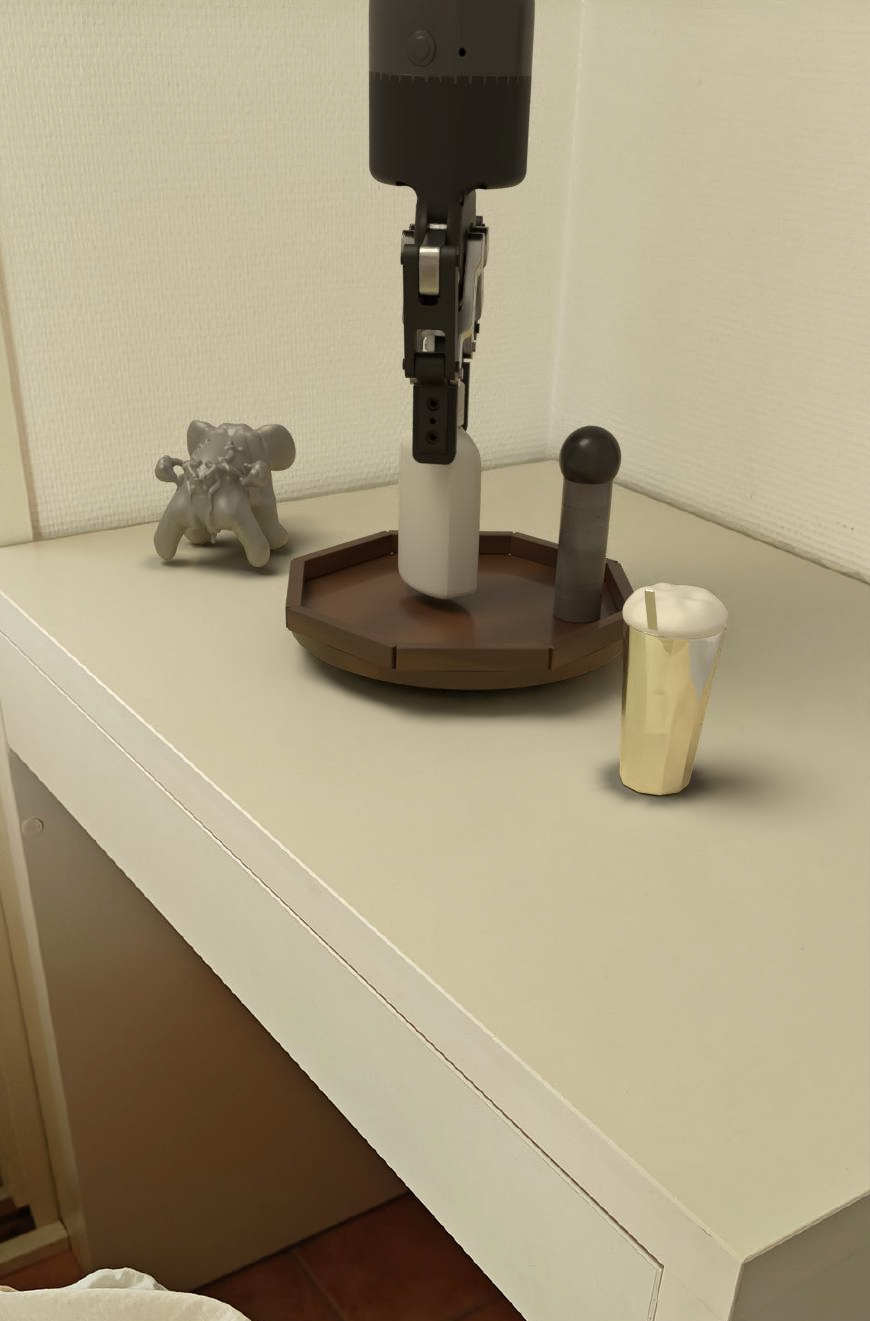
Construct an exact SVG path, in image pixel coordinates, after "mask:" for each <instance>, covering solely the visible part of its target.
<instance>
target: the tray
mask: <svg viewBox="0 0 870 1321" xmlns="http://www.w3.org/2000/svg"><path fill="white" fill-rule="evenodd" d="M621 464H622V450H621V446H620V444H619V442H618V440H617V438H616V437H615V435H614V434H613V433H612V432H611V431H609V430H608V429H606V428H605V427H602V426H598V425H585V426H581V427H579V428H577V429H575V430H573V431H572V432H570V433H569V435H568V436H567V437H566V438H565V439H564V441H563V443H562V444H561V447H560V450H559V455H558V466H559V470H560V472H561V475H562V477H563V478H562V489H561V490H562V491H561V505H560V515H559V516H560V517H559V529H558V542H553V541H549V540H546V539H544V538H540V537H536V536H532V535H529V534H525V533H523V532H519V531H515V532H513V531H511V530H479V555H478V580H477V590H476V592H475V593H474V594H472V595H468V596H463V597H458V598H452V599H438V598H435V597H431V596H428V595H425V594H423V593H420V592H418V591H416V590H414V589H413V588H411V587H410V586H408V585H407V584H406V583H405V582H404V581H403V579H402V578H401V576H400V574H399V569H398V529H390V530H382V531H379V532H375V533H373V534H369V535H365V536H363V537H359V538H355V539H352V540H349V541H346V542H342V543H339V544H337V545H333V546H329V547H326V548H322V549H320V550H316V551H313V552H311V553H310V552H309V553H306V554H303V555H300V556H297V557H293V558H292V559H291V560H290V564H289V573H288V582H287V588H286V598H285V607H284V608H285V610H284V612H285V613H284V614H285V628H286V629H287V630H288V631H290V632H291V633H292V636H293V638H294V639H295V640H296V642H297V643H298V644H299V645H300V646H301V647H302V648H303V649H305V650H306V651H307V652H308V653H309V654H311V655H313V656H314V657H315V658H318V659H319V660H321V661H323V662H325V663H327V664H330V665H332V666H333V667H336V668H338V669H341V670H344V671H346V672H349V673H353V674H356V675H359V676H363V677H366V678H370V679H374V680H378V681H382V682H387V683H390V682H392V683H391V684H393V683H397V684H404V685H411V686H418V687H427V688H439V689H458V690H489V689H506V688H519V687H524V688H528V687H533V686H540V685H545V684H551V683H555V682H560V681H564V680H568V679H571V678H575V677H578V676H581V675H584V674H586V673H590V672H591V671H594V670H596V669H598V668H600V667H602V666H604V665H605V664H607V663H609V662H611V661H612V660H613V659H614V658H617V657H618V655H619V654H621V652H623V606H624V604H625V602H626V601H627V599H628V598H629V597H630V596H631V595H632V594H633V593H634V592H635V590H634V588H633V586H632V585H631V583H630V580H629V578H628V577H627V574H626V572H625V570H624V568H623V566H622V564H621V563H620V562H619V561H618V560H615V559H612V558H608V557H607V550H608V540H609V530H610V520H611V511H612V499H613V489H614V480H615V479H616V477H617V475H618V474H619V471H620V469H621ZM397 684H396V685H397ZM519 689H520V688H519Z"/></svg>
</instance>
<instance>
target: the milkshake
mask: <svg viewBox="0 0 870 1321" xmlns="http://www.w3.org/2000/svg"><path fill="white" fill-rule="evenodd" d="M728 623H729V612H728V610H727V607H726V606H725V605H724V603H723V602H722V601H721V600H720V599H719V598H718V597H717V596H716V595H714V593H712V592H711V591H709V590H708V589H706V588H704V587H699V586H695V585H686V584H678V585H677V584H672V583H668V582H657V583H655V584H652V585H646V586H642V587H639V588H638V589H636V590H634V593H633V594H632V595H631V596H630V597H629V598H628V599H627V601H626V602H625V604H624V606H623V650H622V686H621V709H620V710H621V713H620V740H619V741H620V743H619V770H618V771H619V776H620V779H621V783H622V784H623V785H624V786H626V787H628V788H630V789H631V790H634V791H635V792H637V793H641V794H647V795H648V794H649V795H655V796H664V795H671V794H676V793H680V792H681V791H683V789H685V788H686V787H687V786H688V785H689V784H690V781H691V777H692V774H693V768H694V764H695V760H696V755H697V751H698V747H699V743H700V738H701V734H702V728H703V725H704V720H705V716H706V711H707V707H708V703H709V698H710V694H711V689H712V685H713V680H714V677H715V673H716V669H717V664H718V661H719V656H720V653H721V649H722V645H723V640H724V637H725V633H726V630H727V625H728Z"/></svg>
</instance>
